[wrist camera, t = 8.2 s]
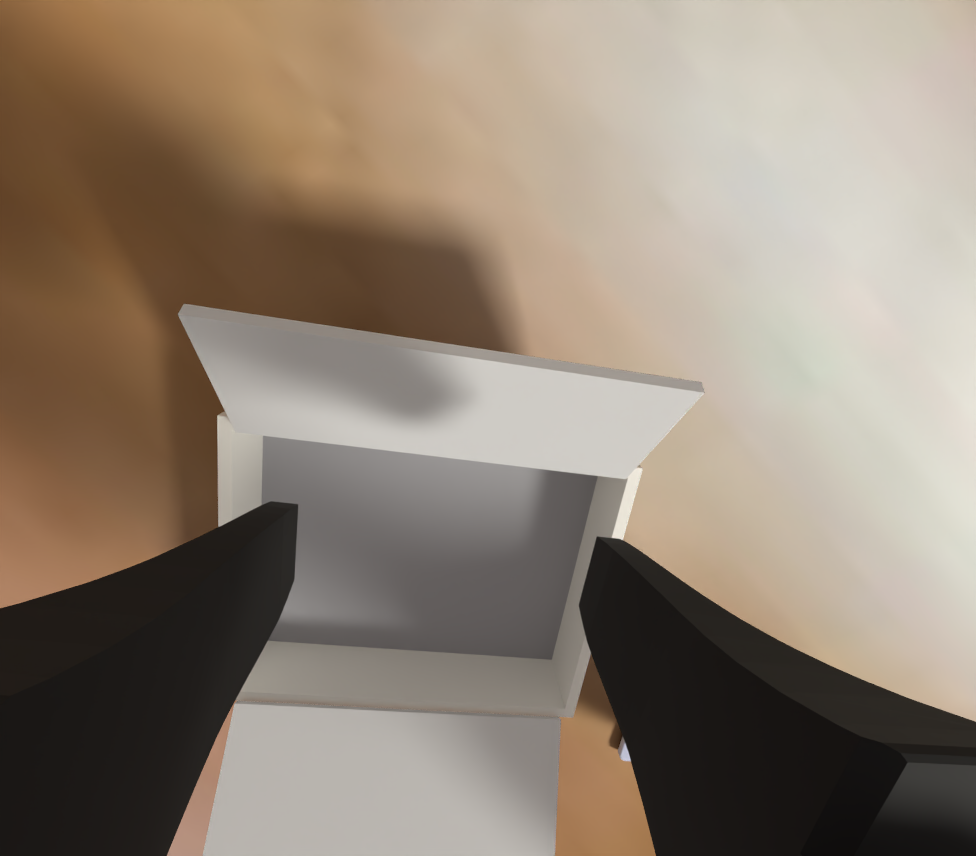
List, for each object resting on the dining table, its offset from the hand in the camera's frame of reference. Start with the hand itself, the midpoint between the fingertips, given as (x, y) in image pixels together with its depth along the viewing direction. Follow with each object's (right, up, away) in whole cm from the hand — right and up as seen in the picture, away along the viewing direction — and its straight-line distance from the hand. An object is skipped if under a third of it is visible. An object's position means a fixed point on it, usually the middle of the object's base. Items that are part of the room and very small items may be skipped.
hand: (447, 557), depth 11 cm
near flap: (0, +4, +4) cm, 5 cm away
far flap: (-3, -12, +9) cm, 15 cm away
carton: (-2, -2, +12) cm, 12 cm away
